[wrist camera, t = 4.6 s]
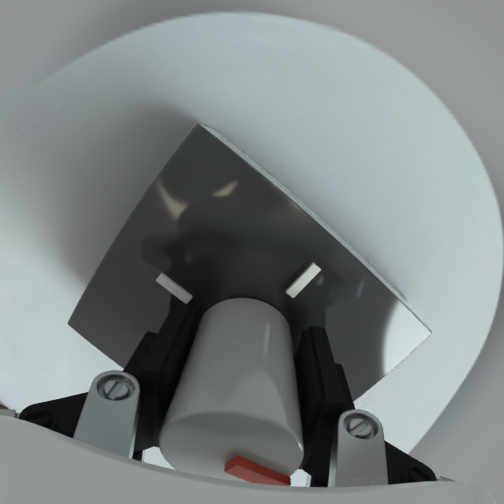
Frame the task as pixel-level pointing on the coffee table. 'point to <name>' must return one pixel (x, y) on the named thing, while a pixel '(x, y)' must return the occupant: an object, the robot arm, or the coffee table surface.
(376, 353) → the hob panel
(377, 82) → the coffee table surface
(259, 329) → the hob knob
